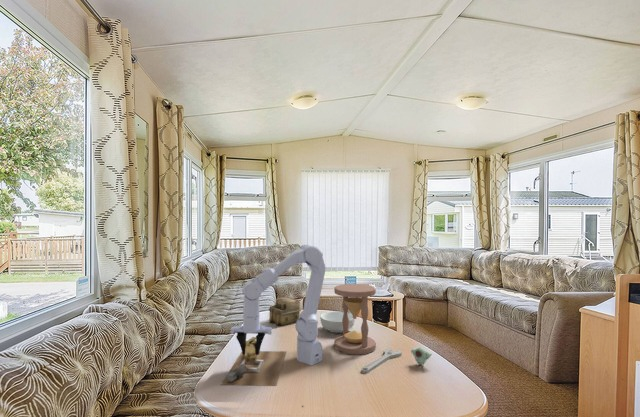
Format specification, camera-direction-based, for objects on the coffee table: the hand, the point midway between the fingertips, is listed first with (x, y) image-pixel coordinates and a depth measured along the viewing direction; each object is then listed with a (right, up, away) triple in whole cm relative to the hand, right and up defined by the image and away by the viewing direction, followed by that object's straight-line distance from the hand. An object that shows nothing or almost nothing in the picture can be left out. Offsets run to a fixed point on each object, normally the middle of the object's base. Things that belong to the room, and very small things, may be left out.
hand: (251, 353), depth 123 cm
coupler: (0, -2, 0) cm, 2 cm away
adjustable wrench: (+48, -7, +8) cm, 49 cm away
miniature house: (+5, -8, +58) cm, 59 cm away
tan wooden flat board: (+2, -6, +1) cm, 6 cm away
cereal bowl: (+33, -8, +44) cm, 56 cm away
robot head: (+62, -7, +5) cm, 63 cm away
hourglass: (+40, -7, +23) cm, 46 cm away
